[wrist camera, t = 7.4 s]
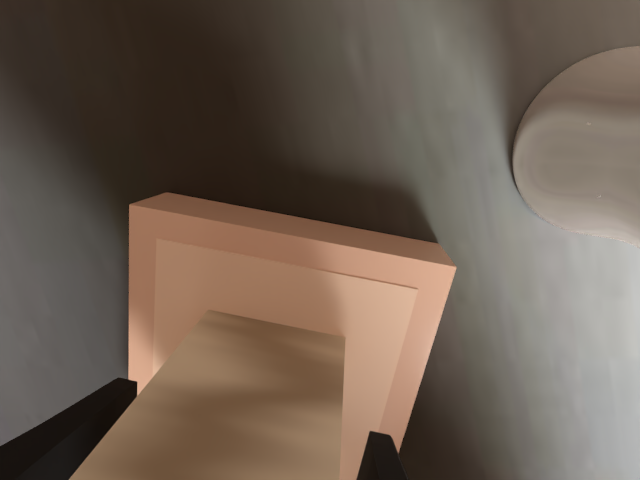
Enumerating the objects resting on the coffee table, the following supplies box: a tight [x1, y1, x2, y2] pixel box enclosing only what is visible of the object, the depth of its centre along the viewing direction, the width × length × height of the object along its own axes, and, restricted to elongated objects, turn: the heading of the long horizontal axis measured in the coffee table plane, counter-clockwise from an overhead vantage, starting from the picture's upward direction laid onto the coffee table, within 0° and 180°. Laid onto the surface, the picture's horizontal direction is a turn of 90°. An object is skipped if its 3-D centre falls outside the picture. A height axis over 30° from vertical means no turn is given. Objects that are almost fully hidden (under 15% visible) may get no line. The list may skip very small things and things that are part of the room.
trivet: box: [129, 192, 457, 480], centre depth 14 cm, size 11×11×3 cm
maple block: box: [69, 310, 345, 480], centre depth 10 cm, size 5×5×6 cm
